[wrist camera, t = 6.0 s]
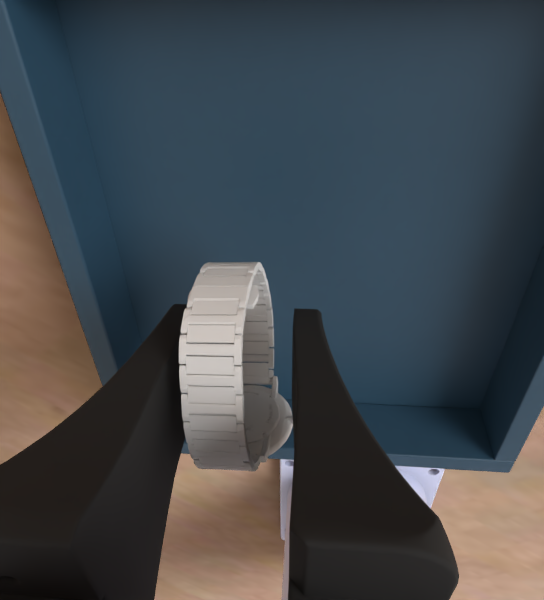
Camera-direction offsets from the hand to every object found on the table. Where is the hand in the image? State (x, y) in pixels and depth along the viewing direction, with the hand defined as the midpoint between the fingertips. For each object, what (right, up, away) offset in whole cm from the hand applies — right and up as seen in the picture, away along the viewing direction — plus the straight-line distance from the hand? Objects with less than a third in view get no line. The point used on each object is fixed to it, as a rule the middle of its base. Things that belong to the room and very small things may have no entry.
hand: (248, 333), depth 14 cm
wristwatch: (0, +1, +1) cm, 2 cm away
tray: (+2, +3, +4) cm, 5 cm away
